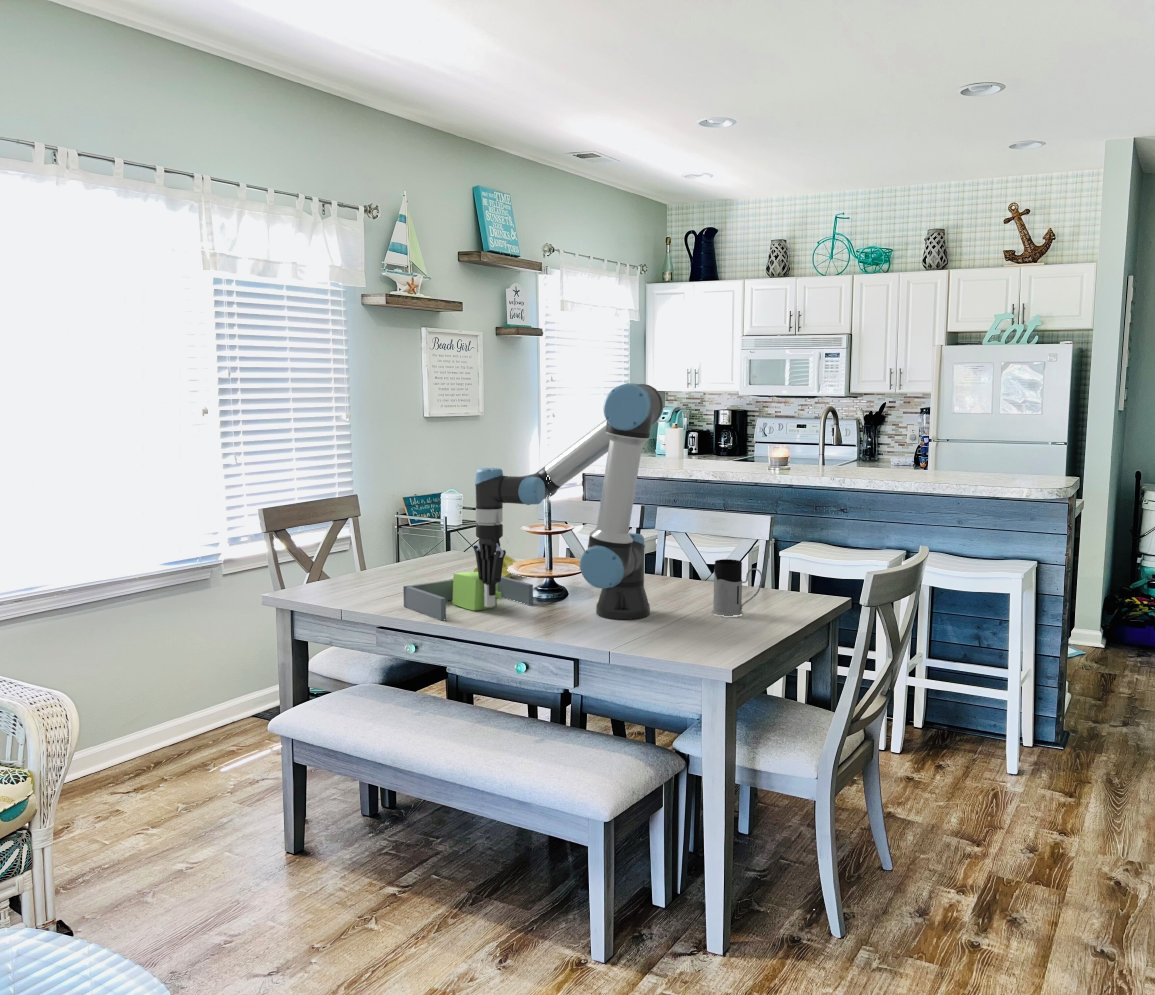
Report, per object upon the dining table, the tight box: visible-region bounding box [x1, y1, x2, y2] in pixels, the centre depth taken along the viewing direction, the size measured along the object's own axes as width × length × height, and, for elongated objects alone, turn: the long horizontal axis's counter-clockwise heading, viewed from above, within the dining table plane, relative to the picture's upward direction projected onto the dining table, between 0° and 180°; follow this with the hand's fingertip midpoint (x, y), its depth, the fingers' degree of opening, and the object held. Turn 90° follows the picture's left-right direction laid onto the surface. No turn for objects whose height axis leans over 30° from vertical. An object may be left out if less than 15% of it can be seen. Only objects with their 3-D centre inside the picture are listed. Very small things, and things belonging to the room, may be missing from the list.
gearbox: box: [452, 571, 502, 611], centre depth 273 cm, size 18×10×10 cm, turn 43°
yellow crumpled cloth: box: [472, 554, 517, 578], centre depth 313 cm, size 20×7×10 cm
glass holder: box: [711, 558, 763, 616], centre depth 263 cm, size 9×14×15 cm, turn 62°
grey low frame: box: [402, 576, 534, 621], centre depth 274 cm, size 21×31×6 cm
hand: (489, 606), depth 265 cm, fingers closed
